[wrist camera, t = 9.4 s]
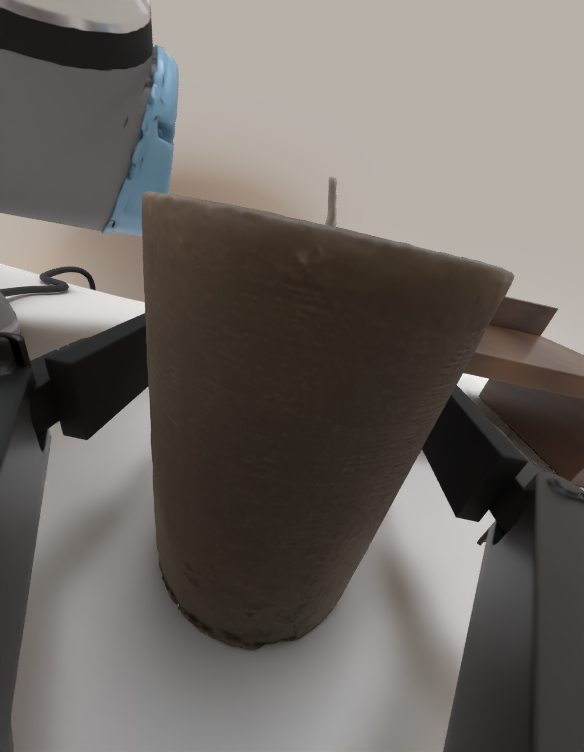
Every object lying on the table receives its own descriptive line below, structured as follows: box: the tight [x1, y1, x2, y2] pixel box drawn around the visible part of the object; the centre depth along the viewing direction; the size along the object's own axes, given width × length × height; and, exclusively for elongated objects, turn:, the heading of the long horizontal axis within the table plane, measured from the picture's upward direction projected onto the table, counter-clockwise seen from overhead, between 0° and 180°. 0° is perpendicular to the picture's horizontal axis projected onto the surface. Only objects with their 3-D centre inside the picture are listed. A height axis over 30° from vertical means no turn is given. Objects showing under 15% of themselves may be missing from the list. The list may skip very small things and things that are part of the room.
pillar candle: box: [142, 177, 514, 649], centre depth 11 cm, size 10×10×15 cm
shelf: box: [463, 296, 584, 487], centre depth 26 cm, size 26×14×12 cm, turn 86°
